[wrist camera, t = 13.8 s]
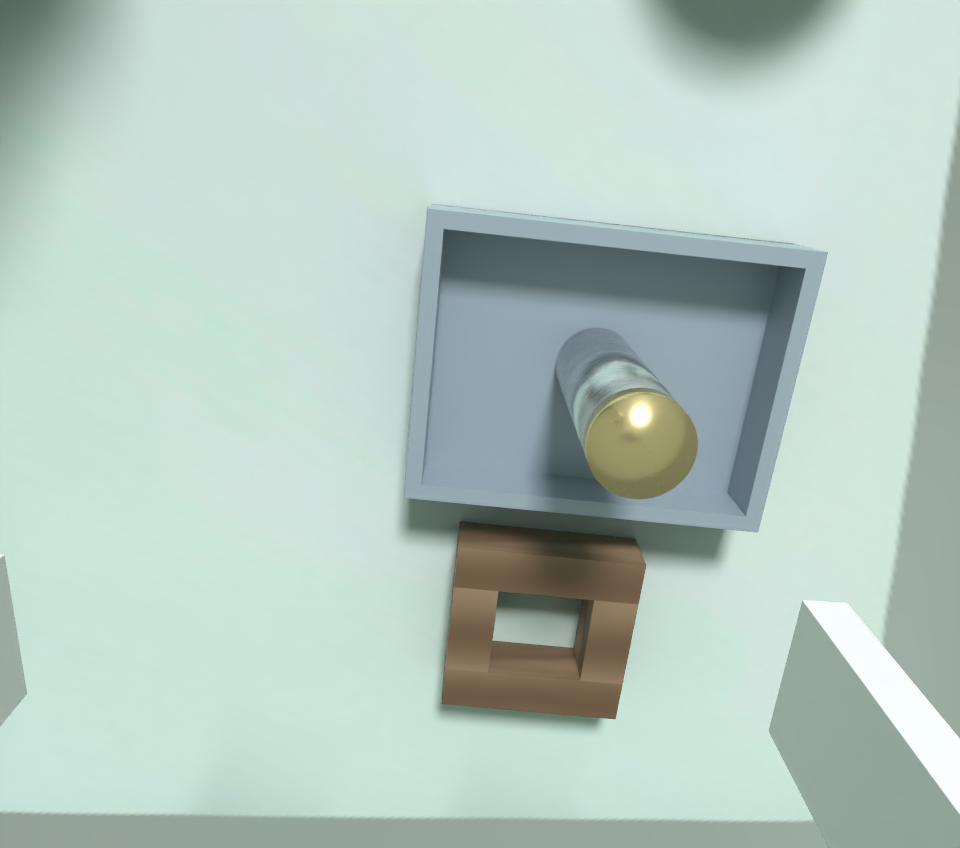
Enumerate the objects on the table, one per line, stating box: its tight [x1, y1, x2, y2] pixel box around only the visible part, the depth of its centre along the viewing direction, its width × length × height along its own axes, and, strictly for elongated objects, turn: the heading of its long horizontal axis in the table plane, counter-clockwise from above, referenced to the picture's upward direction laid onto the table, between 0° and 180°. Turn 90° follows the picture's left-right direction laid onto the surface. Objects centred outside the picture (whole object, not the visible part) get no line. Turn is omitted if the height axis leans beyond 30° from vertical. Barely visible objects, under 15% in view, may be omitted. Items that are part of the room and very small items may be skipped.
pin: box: [556, 327, 698, 499], centre depth 33 cm, size 4×4×12 cm
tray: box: [404, 204, 828, 532], centre depth 38 cm, size 14×18×4 cm
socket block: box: [442, 522, 646, 719], centre depth 43 cm, size 10×10×3 cm
